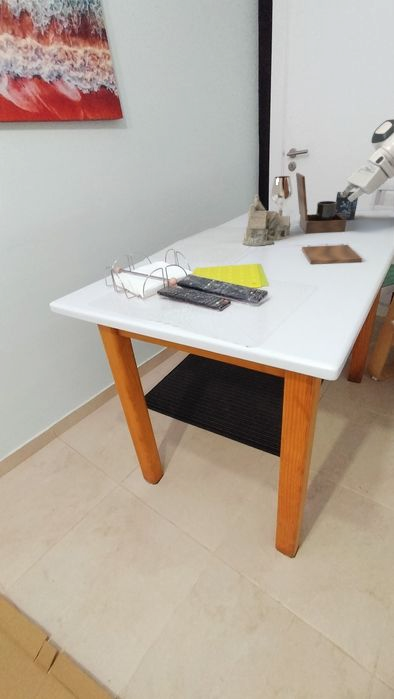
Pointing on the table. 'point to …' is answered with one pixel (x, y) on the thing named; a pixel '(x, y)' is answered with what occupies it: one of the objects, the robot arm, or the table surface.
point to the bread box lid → (302, 196)
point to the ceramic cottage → (265, 225)
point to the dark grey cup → (326, 211)
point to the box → (346, 206)
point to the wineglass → (281, 190)
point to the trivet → (330, 254)
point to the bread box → (322, 225)
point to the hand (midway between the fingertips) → (345, 198)
